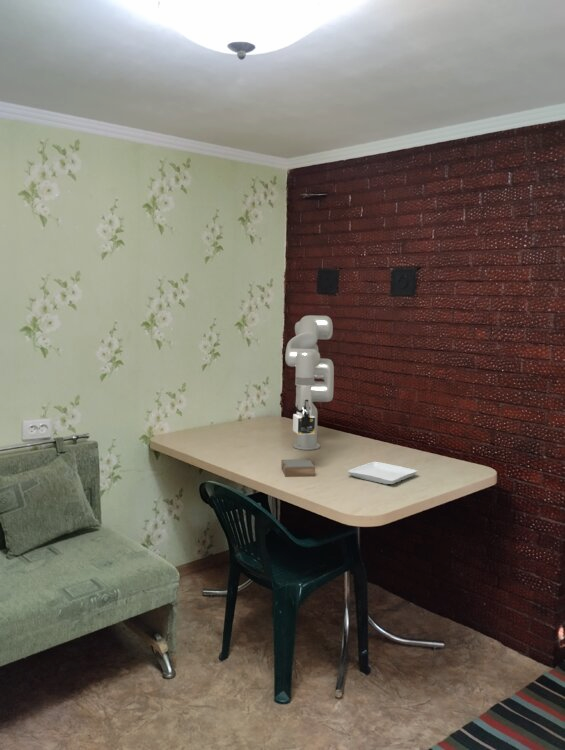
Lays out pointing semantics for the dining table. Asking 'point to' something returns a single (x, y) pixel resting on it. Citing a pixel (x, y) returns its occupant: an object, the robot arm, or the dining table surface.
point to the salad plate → (382, 472)
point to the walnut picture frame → (297, 467)
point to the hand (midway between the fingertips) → (303, 424)
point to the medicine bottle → (298, 423)
